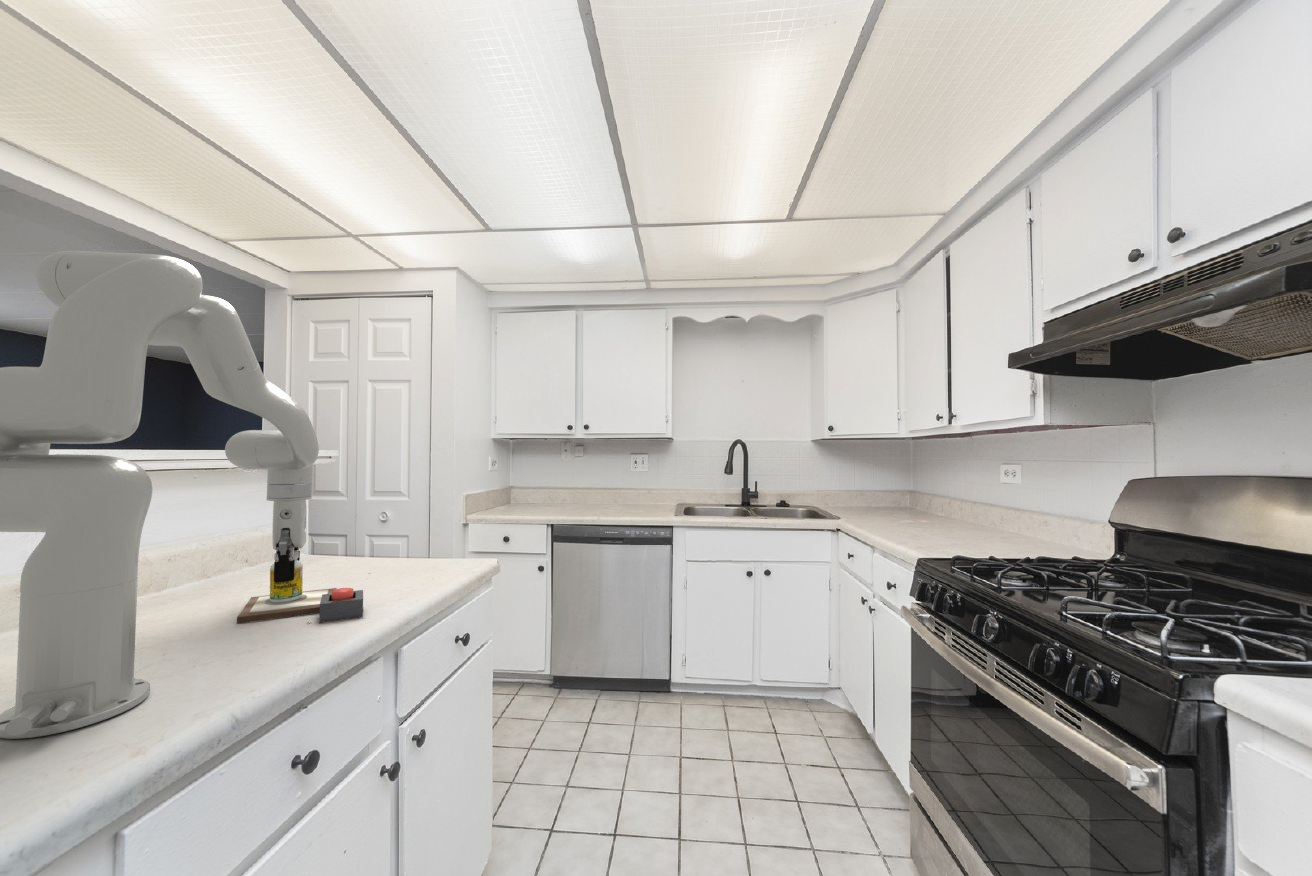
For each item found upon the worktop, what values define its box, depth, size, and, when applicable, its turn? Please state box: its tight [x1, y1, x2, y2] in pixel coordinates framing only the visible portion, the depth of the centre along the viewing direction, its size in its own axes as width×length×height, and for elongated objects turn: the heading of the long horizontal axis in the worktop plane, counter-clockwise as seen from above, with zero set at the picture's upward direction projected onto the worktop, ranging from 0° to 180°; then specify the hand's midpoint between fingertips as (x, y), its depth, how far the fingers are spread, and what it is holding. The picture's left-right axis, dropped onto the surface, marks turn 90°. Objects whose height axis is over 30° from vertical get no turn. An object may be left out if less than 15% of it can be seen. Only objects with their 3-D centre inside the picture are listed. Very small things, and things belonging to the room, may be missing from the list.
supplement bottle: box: [269, 550, 304, 603], centre depth 101 cm, size 5×5×10 cm
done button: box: [332, 587, 354, 601], centre depth 97 cm, size 4×4×2 cm
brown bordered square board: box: [236, 587, 338, 624], centre depth 101 cm, size 14×15×2 cm
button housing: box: [318, 589, 364, 624], centre depth 97 cm, size 7×7×4 cm
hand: (287, 575), depth 102 cm, fingers open, 9 cm apart
